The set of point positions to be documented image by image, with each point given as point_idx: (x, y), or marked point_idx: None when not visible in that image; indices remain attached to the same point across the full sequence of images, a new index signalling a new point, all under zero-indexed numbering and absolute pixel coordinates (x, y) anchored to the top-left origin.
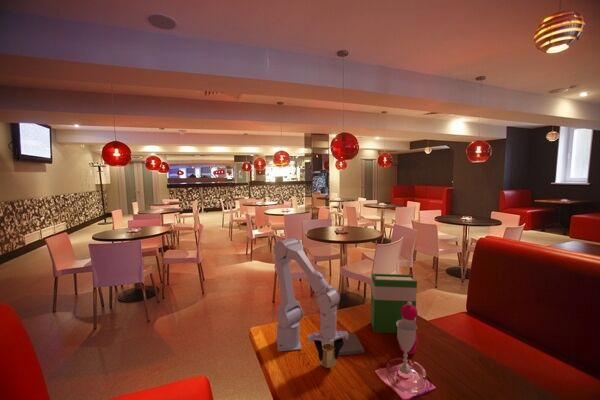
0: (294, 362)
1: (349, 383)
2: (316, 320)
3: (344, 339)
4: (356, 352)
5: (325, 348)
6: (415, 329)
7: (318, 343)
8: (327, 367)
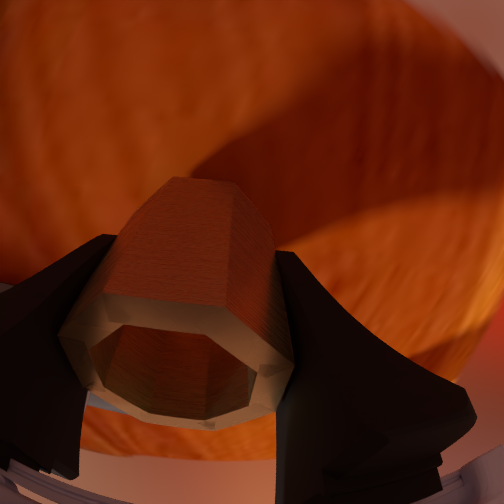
0: (404, 308)
1: (94, 19)
2: (182, 456)
3: None
4: (6, 289)
5: (199, 369)
6: None
7: (385, 468)
8: (226, 181)
